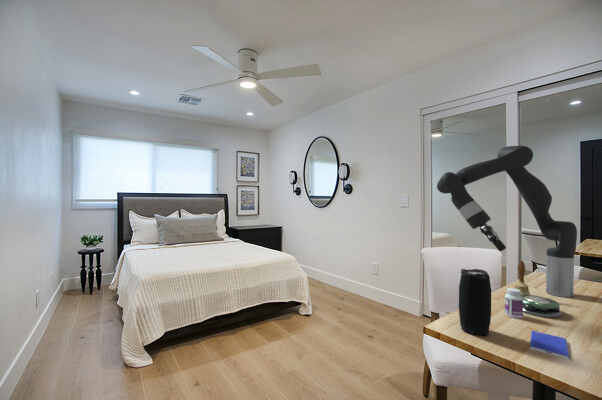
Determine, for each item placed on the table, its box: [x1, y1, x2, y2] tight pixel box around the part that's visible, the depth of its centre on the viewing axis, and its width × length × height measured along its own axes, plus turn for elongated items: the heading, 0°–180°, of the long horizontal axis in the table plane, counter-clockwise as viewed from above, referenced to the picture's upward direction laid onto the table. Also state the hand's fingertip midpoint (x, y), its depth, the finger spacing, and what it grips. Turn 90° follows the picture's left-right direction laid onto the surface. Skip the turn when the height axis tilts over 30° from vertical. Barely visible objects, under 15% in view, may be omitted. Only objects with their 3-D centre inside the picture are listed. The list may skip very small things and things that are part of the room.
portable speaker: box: [458, 268, 492, 337], centre depth 91 cm, size 9×9×20 cm
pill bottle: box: [504, 287, 524, 319], centre depth 103 cm, size 5×5×10 cm
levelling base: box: [520, 294, 562, 319], centre depth 108 cm, size 14×14×4 cm
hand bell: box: [514, 260, 532, 295], centre depth 123 cm, size 8×8×16 cm
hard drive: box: [529, 330, 570, 360], centre depth 82 cm, size 2×8×12 cm
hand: (503, 249), depth 106 cm, fingers open, 8 cm apart
